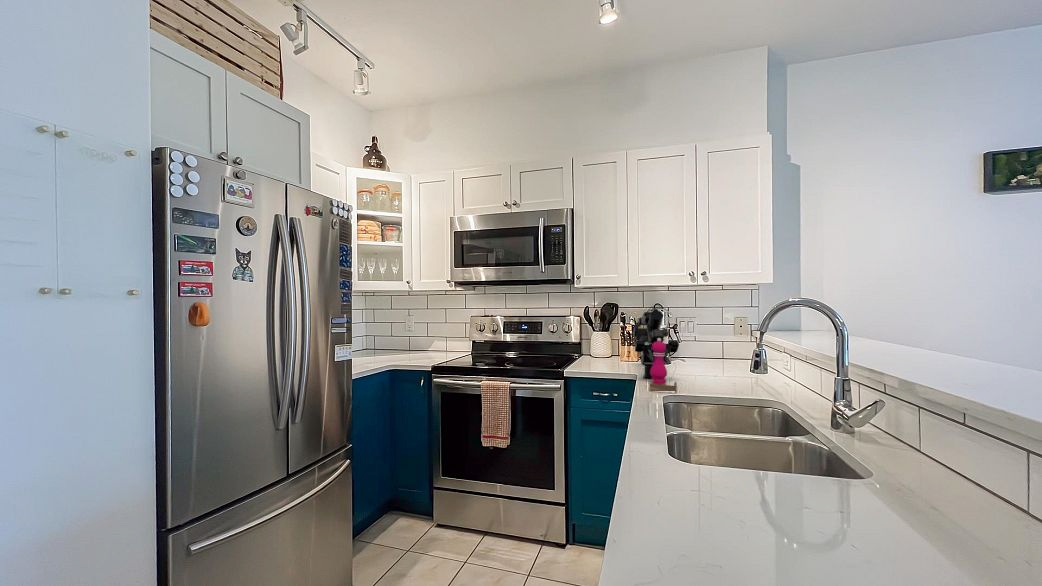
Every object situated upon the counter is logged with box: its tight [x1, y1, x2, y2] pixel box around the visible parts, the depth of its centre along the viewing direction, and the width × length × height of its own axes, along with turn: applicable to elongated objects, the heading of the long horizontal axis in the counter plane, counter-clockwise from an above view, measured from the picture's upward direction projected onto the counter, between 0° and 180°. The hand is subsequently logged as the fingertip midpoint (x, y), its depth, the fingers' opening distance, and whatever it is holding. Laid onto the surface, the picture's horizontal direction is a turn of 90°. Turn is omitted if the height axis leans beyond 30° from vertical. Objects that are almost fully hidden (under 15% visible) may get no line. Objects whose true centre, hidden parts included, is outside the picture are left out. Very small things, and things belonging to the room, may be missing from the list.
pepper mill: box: [650, 338, 668, 385], centre depth 194 cm, size 7×7×20 cm
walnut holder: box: [649, 380, 678, 392], centre depth 185 cm, size 9×10×3 cm
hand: (659, 361), depth 193 cm, fingers closed on pepper mill, 5 cm apart
